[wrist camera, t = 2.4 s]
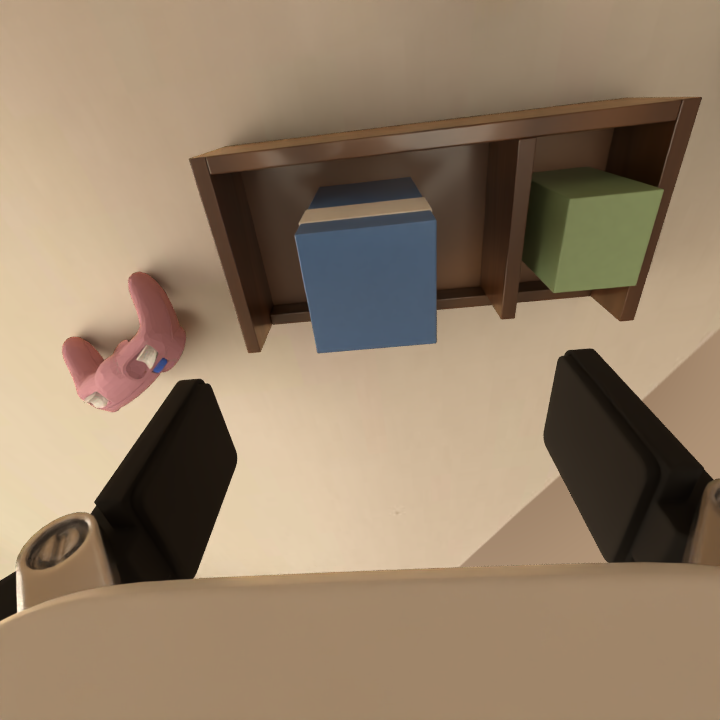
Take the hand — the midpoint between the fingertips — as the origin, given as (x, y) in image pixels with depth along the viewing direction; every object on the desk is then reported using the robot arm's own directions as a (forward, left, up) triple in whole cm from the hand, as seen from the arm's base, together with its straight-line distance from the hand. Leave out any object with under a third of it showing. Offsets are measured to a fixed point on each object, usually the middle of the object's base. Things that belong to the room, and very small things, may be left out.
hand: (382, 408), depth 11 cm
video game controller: (-18, -6, -18) cm, 26 cm away
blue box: (0, 0, -17) cm, 17 cm away
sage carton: (+11, 0, -17) cm, 20 cm away
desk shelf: (+3, 0, -18) cm, 18 cm away
